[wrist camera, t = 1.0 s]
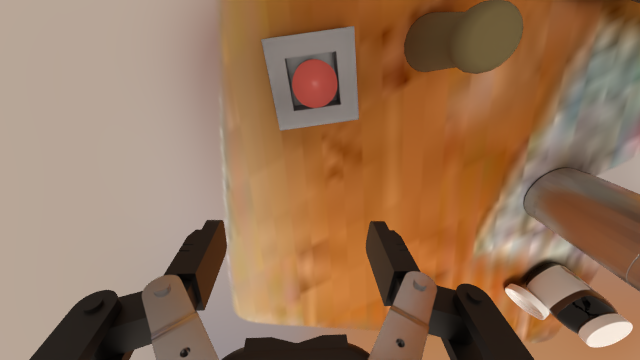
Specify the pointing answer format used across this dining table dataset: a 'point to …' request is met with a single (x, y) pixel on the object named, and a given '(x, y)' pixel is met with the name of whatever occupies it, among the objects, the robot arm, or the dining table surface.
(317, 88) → the button
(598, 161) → the dining table surface
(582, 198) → the robot arm
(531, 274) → the spread jar
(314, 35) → the button housing
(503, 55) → the olive gourd
